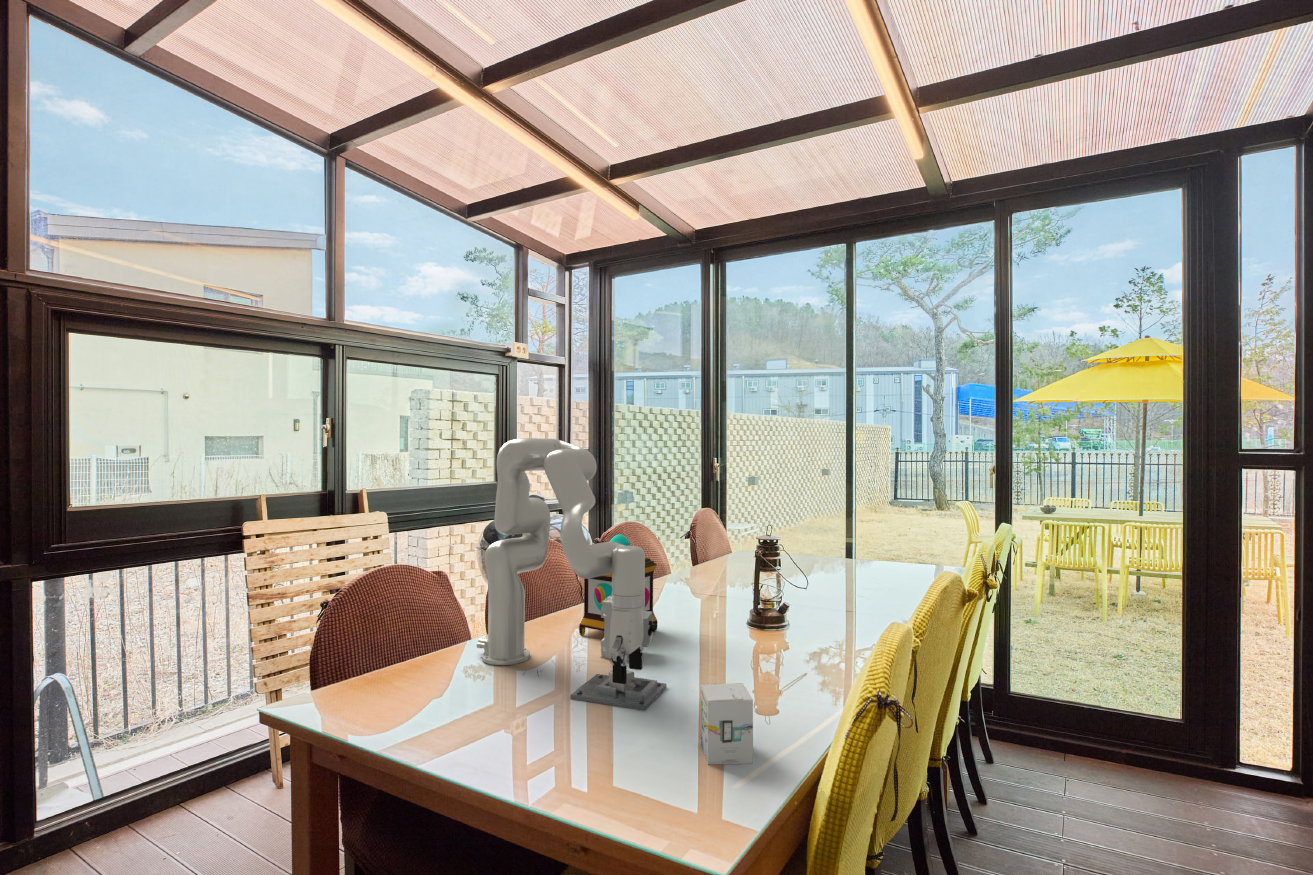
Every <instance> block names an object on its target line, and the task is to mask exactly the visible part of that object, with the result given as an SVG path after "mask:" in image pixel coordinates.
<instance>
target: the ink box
mask: <svg viewBox="0 0 1313 875" xmlns="http://www.w3.org/2000/svg"><path fill="white" fill-rule="evenodd" d="M700 745H701V749H702V752H703V754H704V757H705V760H706V763H707V765H708V766H709V765H710V766H712V765H716V766H717V765H741V764H744V765H745V764H747V765H748V764H753V763H754V699H753V698H752V696H751V694H750V693H749V691H748V690H747V688H746V686H745V684H744V683H743V682H741V683H734V682H733V683H731V682H730V683H711V684H710V683H708V684H707V683H706V684H703V683H702V684H700Z"/></svg>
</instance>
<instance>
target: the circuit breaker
mask: <svg viewBox="0 0 1313 875" xmlns="http://www.w3.org/2000/svg"><path fill="white" fill-rule="evenodd" d="M612 611H613V608H612V596H609V597H608V598H606V599H605V600H604V601H603V602H602V608H601V618H604V631H603V632H604V633H603V638H602V639H601V640H600V658H601V659H604V658H605V659H610V660H611V658H612V657H611V653H610V651H609V643H610V626H611V617H612ZM603 612H604V614H603ZM653 612H654V611H653ZM653 612H650V611H643V628H644V634H643V643H642V647H643V648H647V647H648V646H649V644H650V643H651V642H652V640H653V634H654V633H655V632H656V631H657V630H658V624H657V625H653ZM655 630H656V631H655ZM619 651H625V650H619ZM618 656H620V657H621V659H622V658H623V656H622V655H618ZM626 661H629V655H627V659H626Z"/></svg>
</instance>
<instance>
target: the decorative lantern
mask: <svg viewBox="0 0 1313 875" xmlns="http://www.w3.org/2000/svg"><path fill="white" fill-rule="evenodd" d="M608 542H616V543H620V544H622V545H625V546H632V545H631V541H630V540H629V539H628V538H627V537H626V536H625V535H623V534H616V535H614V536H613V537H612V538H611V539H610V540H609V541H608ZM657 565H658V564H657V563H656V562H655V561H654V560H651V558H650V557H645V607H644V608H643V611H650V612H653V625H657V626H658V619H657V617H656V615H655V612H654V572H655V570H656V568H657ZM583 579H584V584H583V586H584V587H583V588H584V589H583V591H584V592H583V602H584V603H583V617H582V618H581V620H580V622H579V626H578V631H579V636H584V635H585V634H586V628H587V629H590V630H591V629H592V630H596V631H601V632H604V618H601V608H602V602H603V601H604V600H605V599H606V598H608V597H609V596H612V574H608V575H602V576H598V577H594V578H588V579H586V578H583ZM603 614H604V612H603ZM655 632H657V630H655Z"/></svg>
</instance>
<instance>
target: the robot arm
mask: <svg viewBox="0 0 1313 875" xmlns="http://www.w3.org/2000/svg"><path fill="white" fill-rule="evenodd" d="M597 467H598V466H597V461H596V458H595V456H594V455H593V454H592V453H591V452H590V451H589V450H587V449H585V448H582V447H581V446H577V445H575V444H572V443H569V442H567V441H563V440H560V439H557V438H538V437H537V438H536V437H522V438H515V439H513V438H512V439H511V440H507V442H505V443H503V445H502V446H501V447H500V448H499V450H498V453H497V457H496V473H497V486H496V488H497V489H496V496H495V506H494V507H495V508H494V509H495V510H494V521H493V522H494V527H495V530H496V531H497V532H498V533H499V534H501V535H505V536H514V535H522V536H520V537H512V538H505V539H501V540H497V541H494V542H493V543H491V544H490V545H489V546H488V547H487V548H486V550H485V553H484V564H485V569H486V570H485V571H486V577H487V588H488V590H487V591H488V594H487V595H488V596H487V597H488V598H487V599H488V600H487V601H488V602H487V603H488V605H487V606H488V607H487V608H488V609H487V610H488V612H487V614H488V616H487V622H488V623H487V639H486V638H479V639H477V640H478V641H477V644H476V648H477V649H483V651H484V652H483V653H482V654H481V660H482V661H483V662H484V663H485V664H488V665H493V666H508V665H509V666H510V665H511V666H512V665H517V664H520V663H523V662H525V661H528V660H529V659H530V657H531V651H530V650H529V649H528V648H525V625H526V624H525V610H526V608H525V607H526V604H525V603H526V602H525V600H526V598H525V597H526V594H525V587H524V584H523V582H522V580H521V578H520V576H519V575H520V574H522V573H526V572H531V571H536V570H538V569H540V568H542V566H543V565H544V564H545V562H546V561H547V560H546V559H547V555H548V549H549V540H550V539H549V538H550V529H551V511H550V509H549V506H548V504H547V503H546V501H544V500H543V499H541V498H539V497H530V492H531V485H530V484H531V483H530V480H529V477H528V474H527V473H526V472H527V471H532V472H533V471H535V472H536V471H539V472H541V471H544V472H545V475H546V478H547V479H548V482H549V483H550V486H551V488H552V490H553V493H554V496H555V498H556V500H557V502H558V505H559V506H560V509H561V510H562V514H563V515H562V520H561V524H560V544H561V548H562V551H563V553H564V555H565V558H566V559H567V561H568V564H569V566H570V568H571V570H572V571H573V572H574V574H576V575H577V576H578V577H580V578H582V579H584V578H586V579H588V578H594V577H598V576H602V575H608V574H612V608H613V611H612V617H611V626H610V643H609V651H610V653H611V657H612V658H611V659H610V660H611V665H612V670H613V676H612V681H613V683H620V684H626V682H627V670H628V669H630V670H636V671H641V670H642V669H643V650H644V647H642V643H643V634H644V628H643V608H644V607H645V558H646V554H645V550H644V549H643V547H640V546H637V545H636V546H635V545H631V546H625V545H622V544H620V543H616V542H609V541H606V542H604V541H603V542H598V543H592V544H589V542H588V541H587V539H586V536H585V533H584V531H583V524H582V523H583V522H582V521H583V517H584V515H585V514H586V513H588V512H589V511H590V510H592V508H593V507H594V506H595V504H596V496H595V495H594V493H593V491H592V489H591V486H590V484H589V482H588V481H589V480H592V479H593V478H594V476H595V475H596V473H597V469H598V468H597ZM619 650H625V651H619ZM618 655H622V656H623V658H622V659H621V657H620V656H618ZM627 655H629V660H628V666H627V665H626V663H627V660H626V659H627ZM627 667H628V668H627Z"/></svg>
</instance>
